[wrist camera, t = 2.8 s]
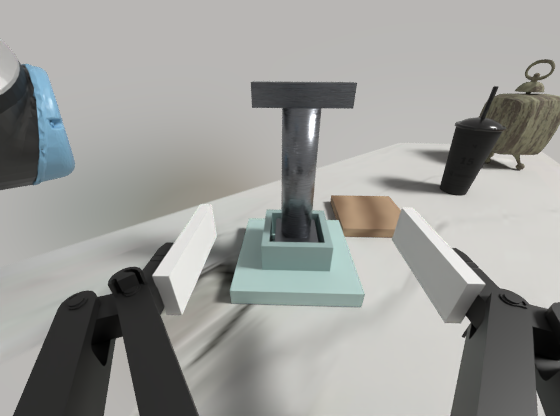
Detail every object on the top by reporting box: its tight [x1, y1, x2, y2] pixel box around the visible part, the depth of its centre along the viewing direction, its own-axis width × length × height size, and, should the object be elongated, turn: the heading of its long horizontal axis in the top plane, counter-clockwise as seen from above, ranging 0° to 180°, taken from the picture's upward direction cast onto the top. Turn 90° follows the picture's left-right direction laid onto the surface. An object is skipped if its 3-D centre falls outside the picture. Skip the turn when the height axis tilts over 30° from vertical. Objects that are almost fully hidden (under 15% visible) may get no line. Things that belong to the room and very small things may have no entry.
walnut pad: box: [331, 195, 401, 237], centre depth 40 cm, size 11×11×2 cm
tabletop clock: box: [479, 59, 560, 170], centre depth 60 cm, size 14×9×25 cm, turn 177°
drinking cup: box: [440, 87, 506, 195], centre depth 45 cm, size 8×8×20 cm
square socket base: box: [230, 210, 365, 307], centre depth 30 cm, size 14×14×6 cm
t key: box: [251, 82, 357, 243], centre depth 25 cm, size 9×5×19 cm, turn 88°
